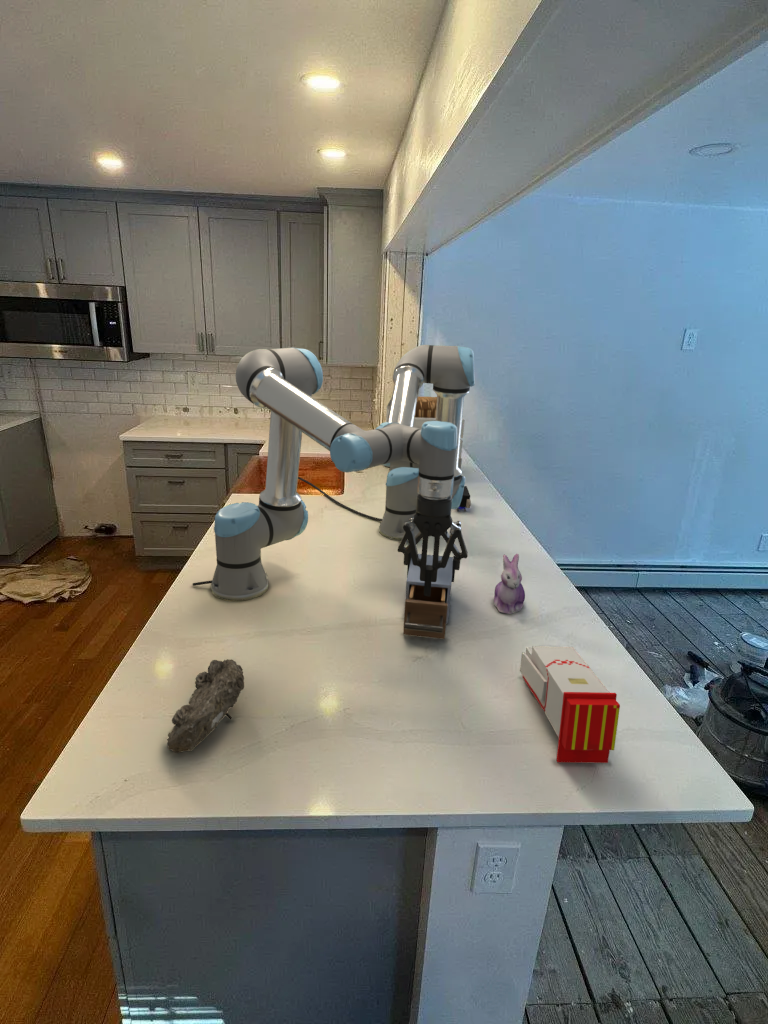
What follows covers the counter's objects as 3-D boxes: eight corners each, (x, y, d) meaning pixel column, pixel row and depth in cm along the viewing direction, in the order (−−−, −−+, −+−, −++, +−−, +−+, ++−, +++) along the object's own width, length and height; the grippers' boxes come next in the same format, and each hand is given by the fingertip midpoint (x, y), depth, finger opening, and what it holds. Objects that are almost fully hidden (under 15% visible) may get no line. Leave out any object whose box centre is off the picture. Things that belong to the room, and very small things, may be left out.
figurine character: (470, 516, 223) (465, 500, 237) (473, 499, 220) (467, 484, 233) (453, 516, 223) (449, 500, 236) (455, 498, 220) (451, 483, 233)
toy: (568, 628, 125) (630, 701, 96) (562, 684, 128) (620, 770, 99) (514, 627, 125) (559, 699, 96) (509, 683, 128) (551, 770, 98)
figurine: (507, 618, 147) (514, 566, 142) (483, 600, 156) (489, 550, 151) (534, 611, 152) (542, 560, 146) (510, 594, 160) (516, 545, 155)
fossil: (192, 660, 117) (244, 628, 112) (224, 691, 120) (276, 661, 115) (142, 746, 98) (202, 712, 93) (182, 779, 101) (242, 748, 96)
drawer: (443, 654, 130) (446, 619, 127) (400, 649, 131) (402, 615, 128) (446, 606, 150) (449, 575, 147) (409, 602, 151) (411, 571, 148)
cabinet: (447, 624, 144) (451, 585, 140) (404, 619, 145) (406, 581, 141) (449, 592, 159) (453, 556, 155) (410, 588, 160) (412, 553, 156)
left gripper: (402, 497, 118) (396, 598, 126) (465, 503, 117) (455, 604, 125) (406, 487, 125) (400, 583, 133) (465, 492, 124) (456, 588, 132)
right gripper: (389, 502, 144) (385, 579, 152) (483, 510, 142) (474, 588, 149) (392, 493, 151) (389, 567, 159) (482, 501, 149) (474, 576, 156)
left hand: (427, 593), depth 129 cm, fingers closed
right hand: (430, 577), depth 154 cm, fingers closed on cabinet, 11 cm apart
